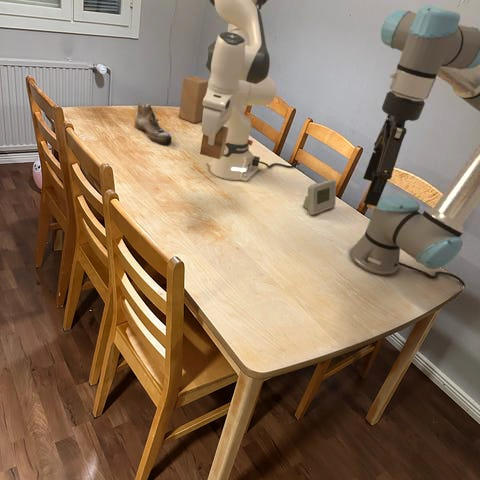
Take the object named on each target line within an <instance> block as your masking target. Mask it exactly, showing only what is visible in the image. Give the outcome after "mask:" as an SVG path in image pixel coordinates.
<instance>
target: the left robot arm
mask: <svg viewBox="0 0 480 480" xmlns="http://www.w3.org/2000/svg"><path fill="white" fill-rule="evenodd" d="M267 2H268V0H209V3H210V5H212V6H213V7H214V8H215V11H216V13H217V14H218V16H219V17H220V18H221V20H223V21H224V22H226V23H227V31H224V32H220V33H219V34H218V35H217V38H216V40H215V41H213V42H211V43H210V44H209V45H208V46H207V56H206V57H207V58H206V63H205V67H206V69H207V70H208V72H209V73H210V77H209V79H208V80H209V81H208V88H207V92H206V95H205V97H204V99H203V106H205V107H204V111H203V119H202V121H201V133H202V135H203V134H204V135H207V136H208V138H209V140H208V144H209V145H214V144H215V140H216V139H215V136H216V134H217V132H218V131H219V130H220V129H221V128H222V127H223V126H224V127H228V133H227V138H226V144H225V149H224V154H223V155H222V157H221V158H220V159H216V158H212V157H211V160H209V161H208V164H207V165H208V166H209V170H210V172H211V173H212V174H213V175H215V176H216V177H218V178H220V179H225V180H229V181H242V182H247V181H249V179H251V177H253V176H254V175H255V174H256V173H257V172H258V171H259V164H262V165H264V166H266V168H268V169H270V168H272V167H274V166H281V167H285V168H290V169H291V168H295V167H296V166H297V165H298V166H300V163H299V162H295V163H294V164H293V165H287V164H284V163H280V162H274V163H271V164H270V165H269V164H268V163H266V162H264V161H261V160H260V159H261V157H260V156H256V155H254V154H253V153H252V152H251V151H250V146H252V145H253V143H254V141H253V140H251V139H249V138H250V133H251V129H252V122H251V119H250V118H249V117H248V116H247V115H246V114H245V113H243V112H242V106H251V107H263V106H269V105H271V104H272V103H273V101H275V99H276V95H277V85H276V82H275V81H274V80H273V78H272V77H270V75H269V72H270V68H271V59H270V53H269V51H268V48H267V41H266V36H265V30H264V29H265V28H264V23H263V19H262V14H261V11H260V10H261V9H262V6H264V5H265V4H267ZM257 6H258V7H257Z"/></svg>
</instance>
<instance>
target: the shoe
mask: <svg viewBox="0 0 480 480" xmlns="http://www.w3.org/2000/svg"><path fill="white" fill-rule="evenodd" d="M155 113H156V114H158V111H157V110H153V108H152V105H151V104H148V103H146V102H144V104H141V103H140V102H138V106H137V108H136V112H135V117H134V127H135V128H137V129H139V130H140V131H142V132H144V133H146V134H147V137H148V138H149V140H151V141H152V142H155V143H157V144H160V145H171V143H172V136H171V134H170V133H169V132H168V131H166V130H165V129H163V128H162V127H161V126H160V123H159V119H158V118H156V115H155Z"/></svg>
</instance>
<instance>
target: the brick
mask: <svg viewBox="0 0 480 480" xmlns="http://www.w3.org/2000/svg"><path fill="white" fill-rule="evenodd" d="M227 133H228V127H224V126H223V127H222V128H221V129H220V130H219V131H218V132H217V134H216V136H215V139H216V140H215V144H214V145H209V144H208V140H209V138H208V136H207V135H204V134H202V137H201V138H202V139H201V145H200V151H199V155H202V156H205V157H210V158H211V159H212V158H216V159H220V158H221V157H222V155H223V154H224V149H225V144H226V138H227Z"/></svg>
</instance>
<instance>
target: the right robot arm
mask: <svg viewBox="0 0 480 480" xmlns="http://www.w3.org/2000/svg"><path fill="white" fill-rule="evenodd" d="M460 21H461V15H460V13H459V12H456V11H452V10H448V9H444V8H439V7H435V6H431V5H422V6H421V7H420V8H419V9H418V11H417V12H412V11H411V10H403V9H396V10H394V11H392V12H391V13H389V14H388V15H387V16H386V18H385V19H384V21H383V23H382V25H381V28H380V39H381V41H382V43H383V44H384V45H385V46H387V47H390V48H391V49H392V50H393V49H394V50H398V51H400V52H401V55H400V58H399V61H398V63H397V66H396V69H395V72H392V73H390V76H389V77H390V79H392V80H391V82H390V85H389V90H390V91H388V92H386V95H385V98H384V99H383V100H384V101H383V104H382V106H381V110H382V112H383V113H385V114H387V115H386V119H385V121H384V123H383V125H382V127H381V128H380V131H379V134H378V135H377V138H376V140H375V142H374V143H373V145H374V147H373V151H372V154H371V156H370V159H369V161H368V164H367V166H366V170H365V172H364V174H363V180H366V181H369V182H370V185H369V187H368V190H367V193H366V195H365V197H364V200H363V204H365V205H369V206H373V207H374V209H373V211H372V214H371V217H370V219H369V222H368V225H367V227H366V230H365V232H364V234H363V235H362V236H361V238H359V240H358V241H357V242H356V243H355V244H354V246H352V249H351V251H350V258H351V259H352V260H351V261H353V262H354V263H355V264H356V265H357V266H358V267H359V268H361V269H363V270H364V271H366V272H368V273H371V274H374V275H379V276H391V275H394V274H395V273H396V272H397V270H398V269H399V266H401V267H404V268H406V269H409V270H412V271H415V272H418V273H419V274H423V275H425V276H427V277H428V278H430V279H438V276H439V275H444V276H449V277H451V278H454V279H456V280H457V281H458V282H459V283H460V284H461V285H462V286H463V287H466V284H465V282H464V281H463V280H462V278H460V277H459V276H457V275H456V274H453V273H450V272H446V271H440V270H439V271H436V272H435V273H434V275H433V274H432V275H431V274H430V273H428V272H426V271H424V270H421V269H419V268H416V267H414V266H411V265H408V264H406V263H402V262H400V256H401V255H400V254H401V250H402V251H403V252H404V253H406V254H407V255H409V257H411V258H413V260H415V261H416V262H417V263H419V264H420V265H422V266H424V267H425V268H427V269H430V270H435V269H439V268H442V267H443V266H446V265H447V264H449V263H450V262H451V261H453V259H454V258H455V257H456V256H457V255H458V254H459V253H460V252H461V250H462V247H464V246H463V245H464V241H463V240H462V238H461V236H462V235H463V233H464V227H463V224H464V222H465V221H466V219H467V218H468V217H469V216H470V214H471V213H472V212H473V210H474V209H475V207H476V206H477V205H478V204H479V202H480V142H479V143H478V144H477V146H476V147H475V148H474V150H473V151H472V153H470V156H469V157H468V158H467V160H466V161H465V163H464V164H463V166H462V167H461V168H460V170H459V171H458V173H457V174H456V175H455V177H454V178H453V179H452V181H451V182H450V184H449V185H448V186H447V188H446V189H445V191H444V192H443V193H442V195H441V196H440V198H439V199H438V200H437V202H436V203H435V205H434V206H433V207H430V208H427V209H425V210H424V211H423V212H422V213H421V212H420V211H419V210H420V208H421V206H420V203H419V202H418V201H417V200H416V199H413V198H411V197H408V196H406V195H402V194H401V195H400V194H394V193H392V194H391V193H390V194H389V193H388V194H383V193H384V190H385V188H386V185H387V183H388V181H389V180H392V177H393V172H394V169H395V167H396V163H397V160H398V157H399V155H400V150H401V147H402V144H403V141H404V138H405V137H406V134H407V131H408V130H407V128H406V127H405V126H406V122H407V121H411V122H415V121H417V120H419V119H420V117H421V114H422V112H423V110H424V108H425V105H426V103H425V100H427V99H428V98H429V96H430V94H431V91H432V89H433V87H434V84H435V82H436V79H437V77H438V78H440V79H441V80H443V81H444V82H445V83H447V84H448V85H449V86H451V87H452V90H453V92H454V94H455V95H457V96H458V97H460V98H461V99H462V100H463V101H465V102H466V103H467V104H468V105H470V106H471V107H472V108H473V109H475V110H477V111H479V112H480V29H479V28H478V27H474V26H466V25H462V24H459V23H460ZM382 194H383V195H382Z"/></svg>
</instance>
